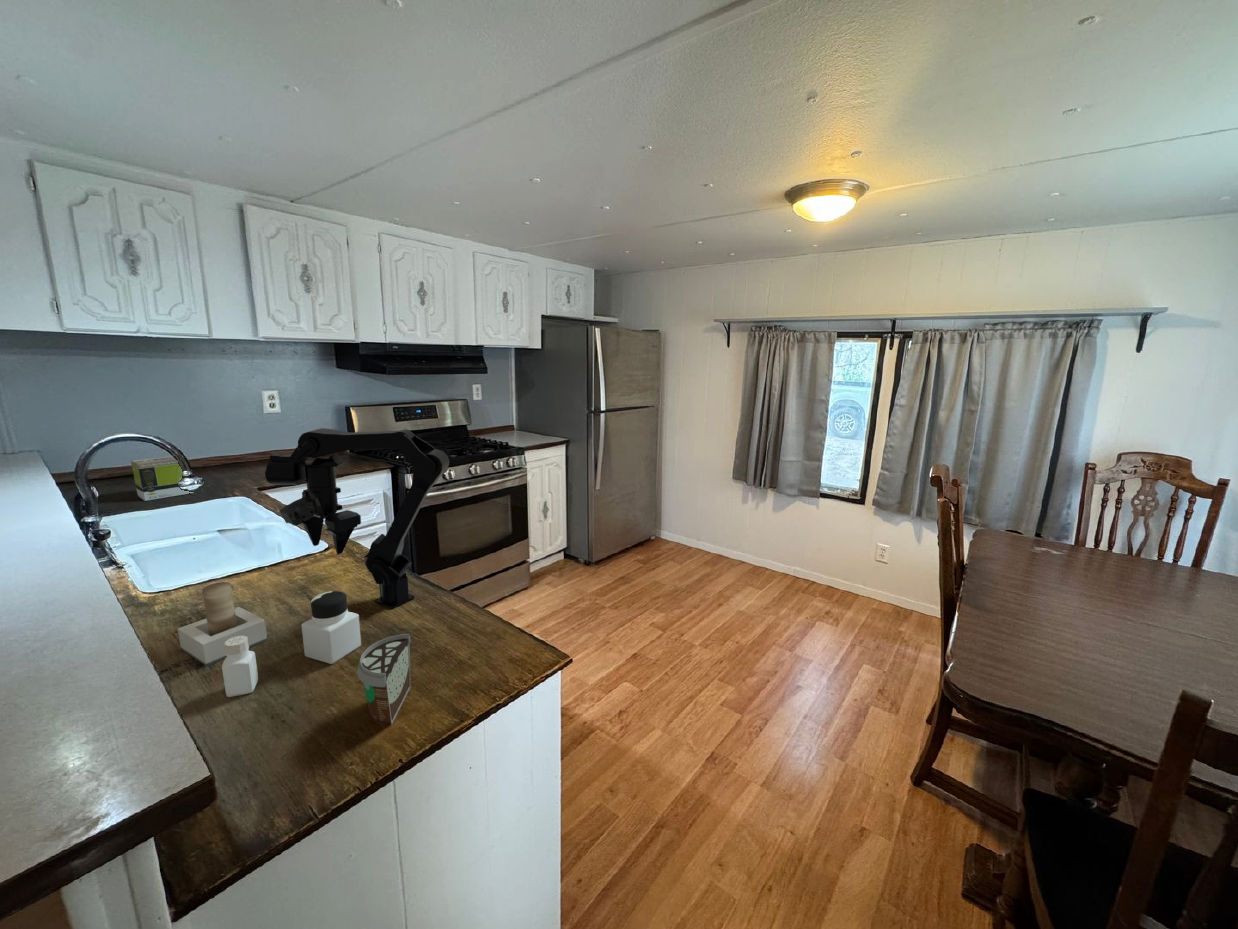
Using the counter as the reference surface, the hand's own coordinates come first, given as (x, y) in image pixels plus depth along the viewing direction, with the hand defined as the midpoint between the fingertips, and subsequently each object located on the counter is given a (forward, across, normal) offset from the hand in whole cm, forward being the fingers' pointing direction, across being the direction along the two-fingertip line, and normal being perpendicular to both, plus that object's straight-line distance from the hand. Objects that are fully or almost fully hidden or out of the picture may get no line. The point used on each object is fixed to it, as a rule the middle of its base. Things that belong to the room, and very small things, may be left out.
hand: (327, 549), depth 116 cm
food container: (+13, +42, -17) cm, 47 cm away
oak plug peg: (+12, 0, -22) cm, 25 cm away
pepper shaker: (+13, +18, -27) cm, 35 cm away
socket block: (+13, 0, -22) cm, 26 cm away
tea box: (+13, -136, +16) cm, 138 cm away
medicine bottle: (+13, +20, -12) cm, 27 cm away
